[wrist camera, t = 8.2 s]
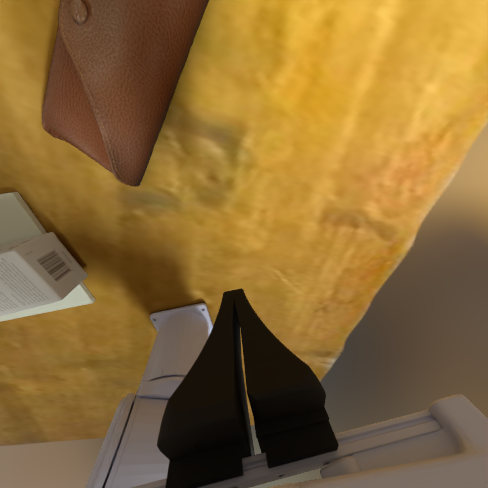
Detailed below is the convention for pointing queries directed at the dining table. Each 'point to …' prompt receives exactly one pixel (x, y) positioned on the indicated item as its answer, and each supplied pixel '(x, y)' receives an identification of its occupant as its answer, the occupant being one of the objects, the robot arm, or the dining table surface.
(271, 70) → the dining table surface
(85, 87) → the sunglasses case
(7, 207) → the mat
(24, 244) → the skincare box
